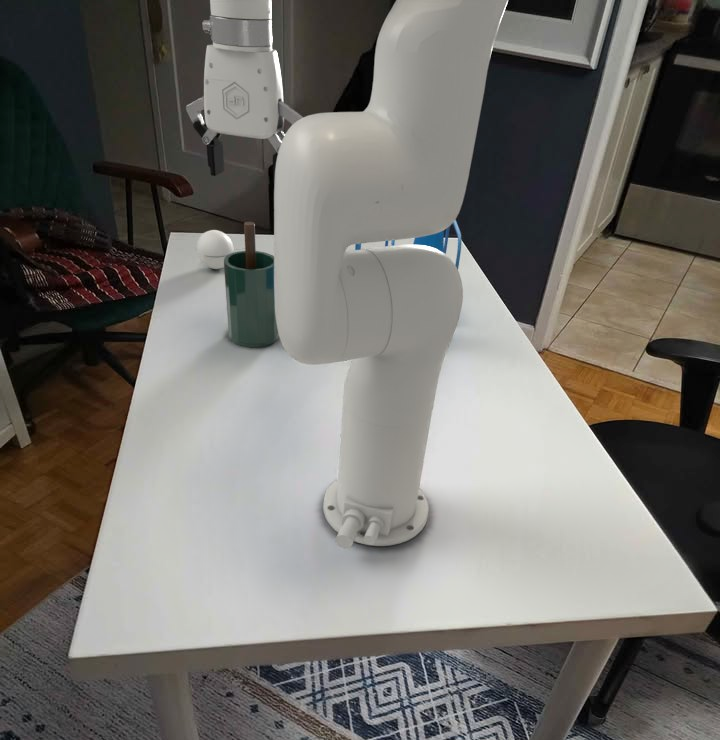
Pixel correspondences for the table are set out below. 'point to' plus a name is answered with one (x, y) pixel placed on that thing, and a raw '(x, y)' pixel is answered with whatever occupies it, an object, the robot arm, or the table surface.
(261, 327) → the cup
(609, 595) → the table surface
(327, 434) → the table surface
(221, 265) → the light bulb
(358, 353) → the robot arm
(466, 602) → the table surface
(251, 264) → the brush
